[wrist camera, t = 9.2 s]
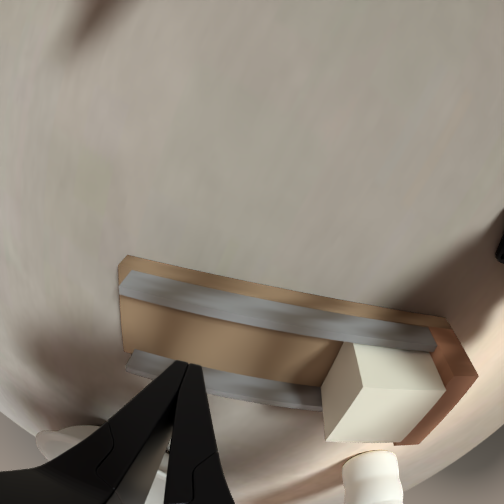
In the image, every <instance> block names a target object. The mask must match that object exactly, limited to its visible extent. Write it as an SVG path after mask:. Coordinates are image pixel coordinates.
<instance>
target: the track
mask: <svg viewBox="0 0 504 504" xmlns="http://www.w3.org/2000/svg"><path fill="white" fill-rule="evenodd" d="M118 277H119V298H120V314H121V327H122V338H123V348H124V352H127V353H131V354H132V355H131V357H130V359H129V361H128V363H127V365H126V372H129V373H132V374H135V375H139V376H142V377H145V378H149V379H152V380H154V379H155V378H156V377H157V376H159V375H160V374H161V373H162V372H163V371H164V370H165V369H166V368H167V367H169V366H170V365H171V364H172V363H173V362H174V361H175V360H181V361H185V362H188V363H189V364H190V363H193V364H198V365H201V366H202V370H203V376H204V381H205V387H206V393H208V394H212V395H217V396H222V397H227V398H232V399H237V400H243V401H248V402H254V403H260V404H266V405H273V406H280V407H287V408H295V409H303V410H312V411H322V412H323V408H322V396H321V386H322V384H323V382H324V380H325V378H326V376H327V375H328V373H329V371H330V369H331V367H332V365H333V363H334V361H335V359H336V357H337V355H338V353H339V351H340V349H341V347H342V345H343V343H344V342H351V343H358V344H365V345H373V346H381V347H389V348H397V349H406V350H416V351H426V352H429V353H430V355H431V357H432V359H433V362H434V364H435V366H436V368H437V370H438V373H439V375H440V377H441V380H442V382H443V384H444V387H445V389H446V391H445V393H444V394H443V395H442V396H441V397H440V399H439V400H438V401H437V402H436V404H435V405H434V406H433V407H432V408H431V409H430V411H429V412H428V413H427V414H426V415H425V416H424V418H423V419H422V420H421V421H420V422H419V423H418V424H417V425H416V426H415V427H414V429H413V430H412V431H411V432H410V433H409V434H408V435H407V436H406V437H405V438H404V439H403V440H402V441H401V442H393V444H394V446H396V445H415V444H419V443H420V442H421V441H422V440H423V439H424V438H425V437H426V436H427V435H428V434H429V433H430V432H431V431H432V430H433V429H434V428H435V427H436V426H437V425H438V424H439V423H440V422H441V421H442V420H443V419H444V417H445V416H446V415H447V414H448V413H449V412H450V411H451V410H452V408H453V407H454V406H455V405H456V404H457V403H458V402H459V400H460V399H461V398H462V397H463V396H464V394H465V393H466V392H467V391H468V389H469V388H470V387H471V386H472V384H473V383H474V382H475V381H476V379H477V378H478V377H479V376H478V374H477V372H476V370H475V368H474V366H473V365H472V363H471V361H470V359H469V357H468V356H467V354H466V352H465V350H464V348H463V347H462V345H461V343H460V342H459V340H458V338H457V336H456V335H455V333H454V331H453V330H452V328H451V326H450V325H449V323H448V321H447V320H446V318H443V317H437V316H431V315H425V314H419V313H413V312H407V311H401V310H395V309H389V308H383V307H378V306H372V305H366V304H361V303H355V302H350V301H344V300H339V299H334V298H328V297H323V296H318V295H312V294H307V293H302V292H297V291H292V290H287V289H282V288H277V287H272V286H267V285H262V284H257V283H252V282H247V281H243V280H238V279H233V278H228V277H224V276H219V275H214V274H210V273H205V272H200V271H196V270H191V269H187V268H182V267H178V266H173V265H169V264H164V263H160V262H156V261H151V260H147V259H143V258H138V257H134V256H130V255H127V256H126V257H125V258H124V259H123V260H122V261H121V263H120V264H119V265H118Z"/></svg>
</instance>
